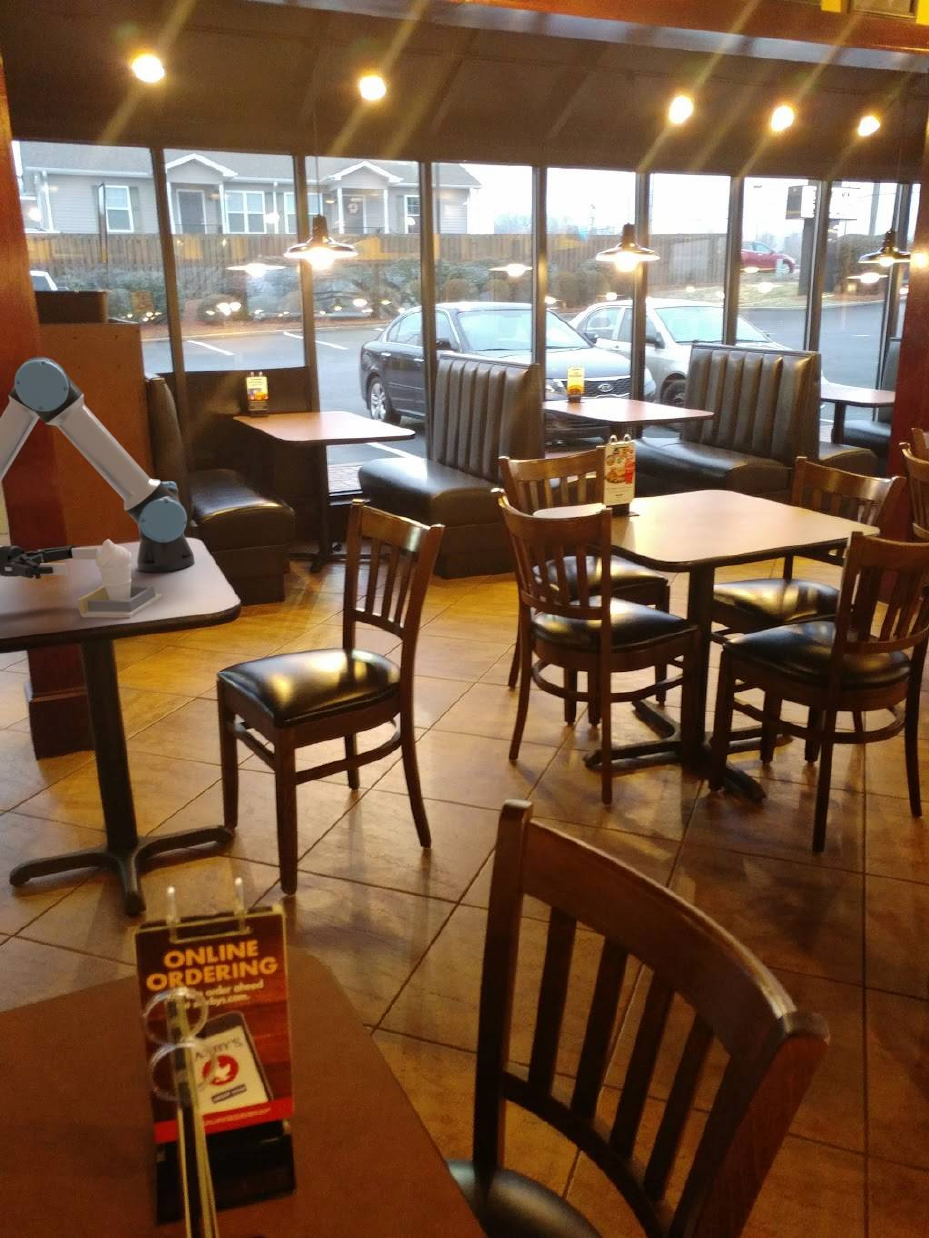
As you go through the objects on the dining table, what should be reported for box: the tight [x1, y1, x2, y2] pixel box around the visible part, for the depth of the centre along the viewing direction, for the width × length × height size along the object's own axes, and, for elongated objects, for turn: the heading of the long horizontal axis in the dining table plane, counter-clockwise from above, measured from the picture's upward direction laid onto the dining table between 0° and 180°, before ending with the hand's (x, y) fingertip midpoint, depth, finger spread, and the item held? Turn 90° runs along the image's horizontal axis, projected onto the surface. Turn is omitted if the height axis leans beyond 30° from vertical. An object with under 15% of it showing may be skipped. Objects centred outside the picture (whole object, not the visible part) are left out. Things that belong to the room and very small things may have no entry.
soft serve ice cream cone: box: [95, 538, 133, 600], centre depth 244 cm, size 8×8×16 cm
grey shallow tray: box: [77, 584, 163, 619], centre depth 246 cm, size 13×16×4 cm
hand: (82, 561), depth 244 cm, fingers open, 13 cm apart
